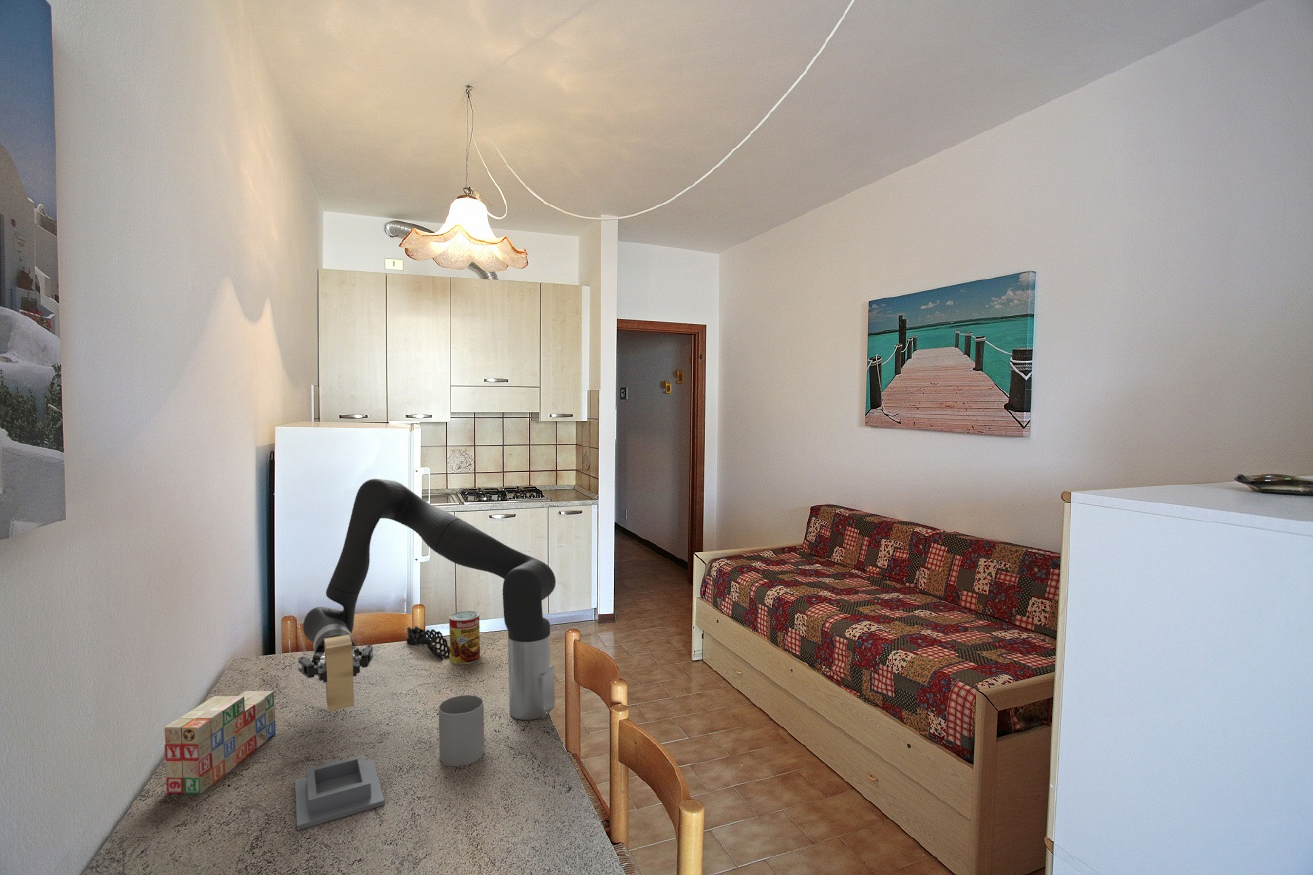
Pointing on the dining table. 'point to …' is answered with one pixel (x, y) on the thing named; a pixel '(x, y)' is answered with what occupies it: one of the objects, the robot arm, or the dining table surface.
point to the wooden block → (339, 672)
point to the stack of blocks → (216, 739)
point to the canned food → (464, 637)
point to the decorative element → (428, 641)
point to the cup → (461, 730)
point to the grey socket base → (337, 791)
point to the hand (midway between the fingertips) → (340, 674)
